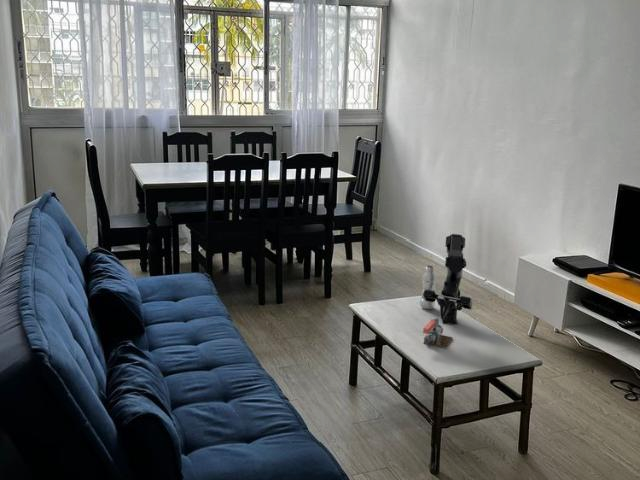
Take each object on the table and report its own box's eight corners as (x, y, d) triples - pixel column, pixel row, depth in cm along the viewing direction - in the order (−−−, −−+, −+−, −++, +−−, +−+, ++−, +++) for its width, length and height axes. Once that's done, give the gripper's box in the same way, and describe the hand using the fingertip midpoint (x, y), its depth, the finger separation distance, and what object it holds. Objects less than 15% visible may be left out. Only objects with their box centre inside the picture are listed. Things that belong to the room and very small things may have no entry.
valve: (431, 333, 258) (432, 318, 256) (453, 338, 254) (454, 323, 252) (422, 344, 248) (423, 329, 246) (444, 349, 244) (446, 333, 242)
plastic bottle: (426, 304, 290) (429, 263, 284) (437, 308, 285) (440, 267, 279) (416, 307, 286) (419, 266, 280) (428, 312, 281) (431, 269, 275)
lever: (439, 323, 250) (440, 318, 250) (429, 334, 240) (429, 329, 239) (432, 322, 252) (432, 316, 251) (421, 333, 241) (421, 327, 241)
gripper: (477, 296, 251) (468, 331, 244) (432, 288, 259) (422, 322, 252) (474, 284, 242) (464, 320, 235) (428, 275, 250) (417, 310, 244)
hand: (442, 318), depth 242 cm, fingers closed
